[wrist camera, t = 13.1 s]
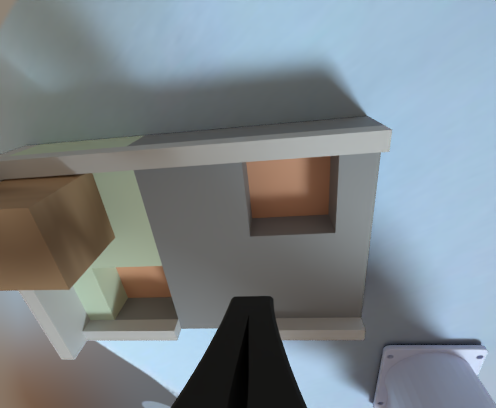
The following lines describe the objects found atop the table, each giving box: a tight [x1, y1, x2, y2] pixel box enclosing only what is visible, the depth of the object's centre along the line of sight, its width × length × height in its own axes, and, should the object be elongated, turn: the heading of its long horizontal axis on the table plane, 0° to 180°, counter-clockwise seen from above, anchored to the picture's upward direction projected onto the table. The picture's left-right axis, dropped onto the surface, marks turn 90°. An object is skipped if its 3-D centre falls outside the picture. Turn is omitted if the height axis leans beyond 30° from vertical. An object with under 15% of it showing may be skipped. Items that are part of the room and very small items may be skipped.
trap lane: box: [0, 116, 392, 360], centre depth 17 cm, size 14×21×5 cm, turn 96°
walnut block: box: [0, 173, 115, 291], centre depth 15 cm, size 4×4×4 cm
